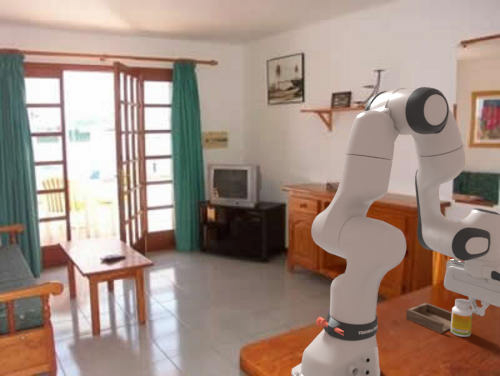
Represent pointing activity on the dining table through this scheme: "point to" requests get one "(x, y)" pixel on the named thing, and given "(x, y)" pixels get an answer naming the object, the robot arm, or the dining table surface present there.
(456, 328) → the supplement bottle
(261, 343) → the dining table surface
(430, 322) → the tray
